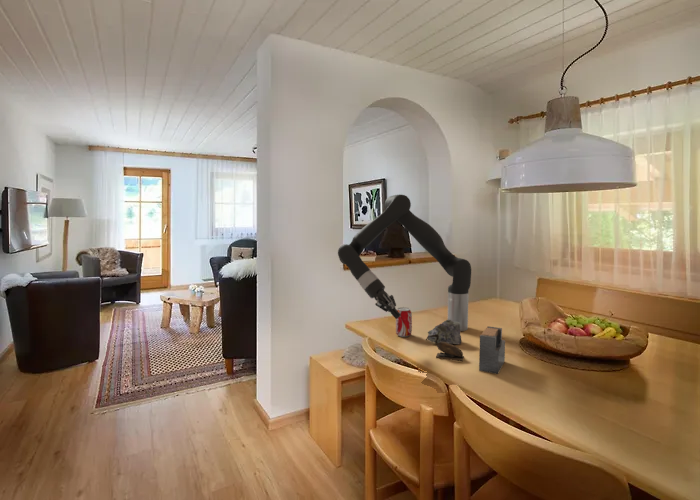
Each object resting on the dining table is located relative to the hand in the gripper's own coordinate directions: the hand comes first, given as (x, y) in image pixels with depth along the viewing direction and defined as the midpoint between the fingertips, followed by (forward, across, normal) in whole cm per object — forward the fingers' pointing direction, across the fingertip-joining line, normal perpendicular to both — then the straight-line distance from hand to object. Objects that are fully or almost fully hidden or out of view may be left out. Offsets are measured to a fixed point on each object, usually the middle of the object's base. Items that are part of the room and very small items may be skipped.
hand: (398, 317), depth 156 cm
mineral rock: (+19, +17, 0) cm, 26 cm away
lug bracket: (+34, 0, -16) cm, 38 cm away
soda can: (+6, +18, +13) cm, 23 cm away
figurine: (+23, 0, -4) cm, 23 cm away
